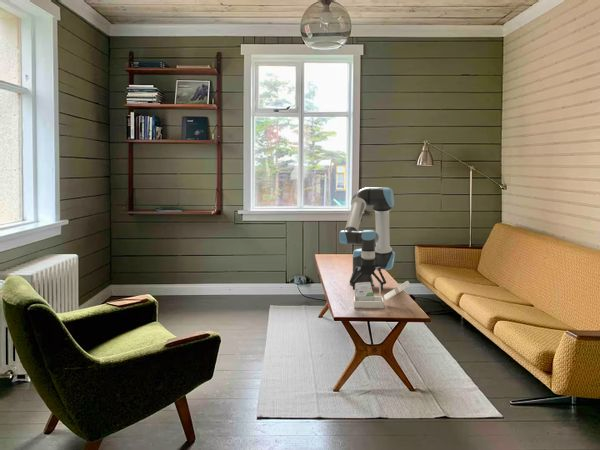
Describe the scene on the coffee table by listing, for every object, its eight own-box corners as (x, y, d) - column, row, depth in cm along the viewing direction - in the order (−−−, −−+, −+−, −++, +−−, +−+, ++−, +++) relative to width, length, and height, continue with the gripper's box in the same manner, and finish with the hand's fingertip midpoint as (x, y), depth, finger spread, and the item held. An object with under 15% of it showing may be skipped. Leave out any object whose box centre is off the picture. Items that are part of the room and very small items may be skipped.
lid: (407, 280, 351) (408, 280, 351) (383, 295, 353) (384, 295, 353) (410, 285, 339) (410, 285, 339) (385, 300, 341) (385, 301, 341)
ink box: (373, 301, 350) (370, 288, 359) (373, 295, 347) (370, 281, 356) (358, 303, 349) (355, 289, 359) (358, 296, 347) (355, 282, 356)
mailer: (353, 302, 355) (353, 295, 355) (382, 303, 354) (382, 296, 354) (354, 308, 343) (354, 301, 342) (383, 308, 342) (383, 301, 341)
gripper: (345, 259, 342) (345, 296, 345) (391, 259, 341) (390, 297, 343) (345, 256, 350) (345, 293, 352) (390, 257, 348) (389, 294, 351)
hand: (367, 295), depth 348 cm, fingers open, 13 cm apart
